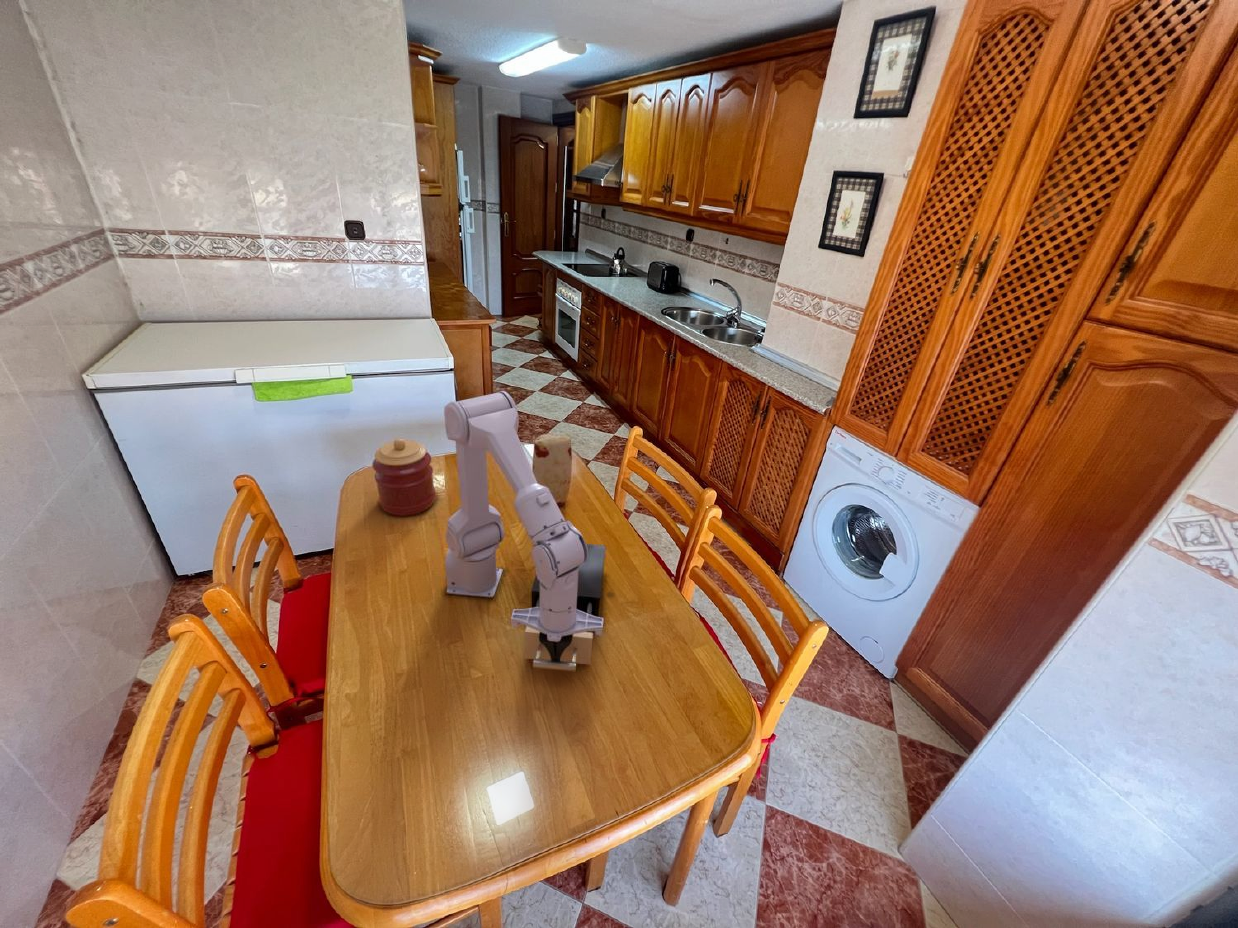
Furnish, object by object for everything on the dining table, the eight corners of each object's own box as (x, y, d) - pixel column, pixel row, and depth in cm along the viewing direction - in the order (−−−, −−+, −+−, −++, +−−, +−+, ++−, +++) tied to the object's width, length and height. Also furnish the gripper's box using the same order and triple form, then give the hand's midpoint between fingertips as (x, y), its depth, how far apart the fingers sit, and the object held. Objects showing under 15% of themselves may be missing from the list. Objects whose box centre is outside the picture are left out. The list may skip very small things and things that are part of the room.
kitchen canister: (429, 482, 131) (421, 423, 123) (442, 509, 122) (434, 446, 113) (376, 494, 125) (363, 432, 116) (385, 522, 116) (372, 457, 107)
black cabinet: (597, 629, 94) (600, 597, 90) (531, 623, 94) (531, 590, 90) (602, 576, 107) (605, 545, 103) (544, 570, 107) (545, 539, 102)
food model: (534, 513, 124) (534, 443, 114) (530, 498, 129) (529, 430, 119) (572, 509, 127) (575, 440, 117) (567, 494, 132) (569, 427, 122)
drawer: (587, 686, 83) (589, 659, 79) (519, 680, 83) (519, 653, 79) (596, 606, 98) (598, 581, 95) (539, 600, 98) (539, 575, 95)
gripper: (505, 613, 73) (507, 672, 80) (603, 622, 73) (597, 681, 80) (515, 579, 79) (517, 637, 86) (606, 588, 79) (600, 645, 86)
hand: (556, 656), depth 83 cm, fingers closed, pressing on drawer
